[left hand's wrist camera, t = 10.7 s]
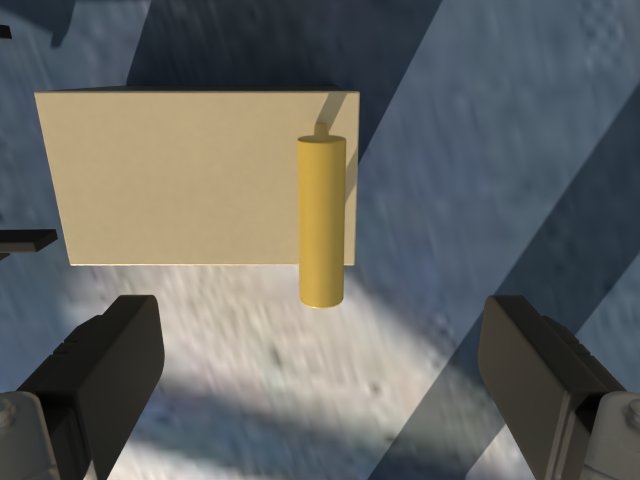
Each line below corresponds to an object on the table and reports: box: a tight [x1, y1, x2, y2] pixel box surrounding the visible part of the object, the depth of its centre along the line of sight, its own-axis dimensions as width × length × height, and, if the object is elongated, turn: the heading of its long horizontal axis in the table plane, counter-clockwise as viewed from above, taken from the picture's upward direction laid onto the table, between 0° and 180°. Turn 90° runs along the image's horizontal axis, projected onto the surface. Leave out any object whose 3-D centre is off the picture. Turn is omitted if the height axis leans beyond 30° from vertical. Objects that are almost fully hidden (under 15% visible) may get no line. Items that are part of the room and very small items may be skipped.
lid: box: [34, 91, 360, 309], centre depth 22 cm, size 17×10×9 cm, turn 90°
